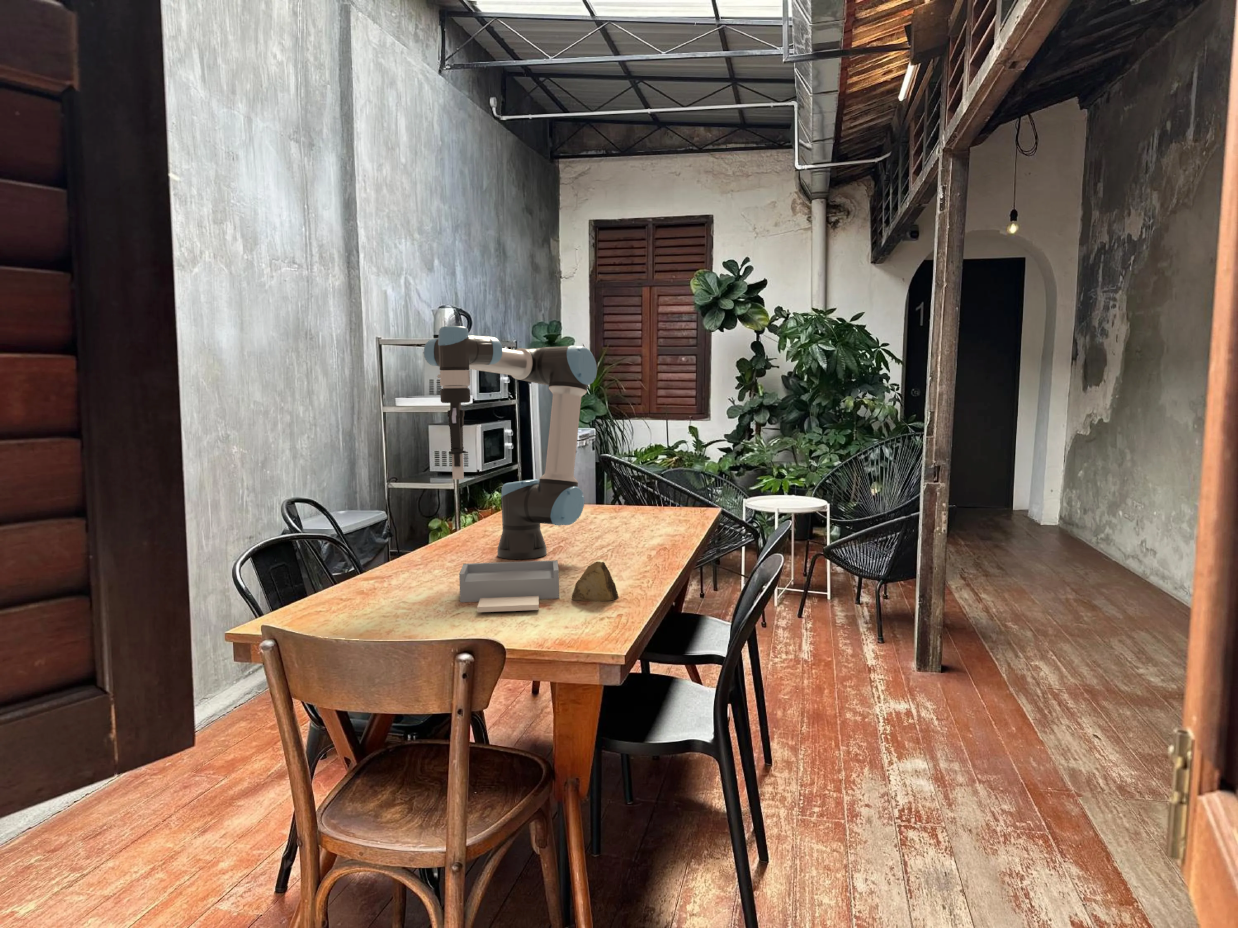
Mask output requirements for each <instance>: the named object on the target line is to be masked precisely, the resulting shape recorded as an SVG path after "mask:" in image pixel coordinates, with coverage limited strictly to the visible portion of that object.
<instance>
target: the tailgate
mask: <svg viewBox="0 0 1238 928" xmlns="http://www.w3.org/2000/svg"><path fill="white" fill-rule="evenodd" d="M476 609H477V610H476V613H491V612H492V613H494V612H516V611H520V612H521V611H522V612H523V611H537V610H538V611H539V610H540V599H539V596H525V597H500V598H480V601H479V602H478V604H477V607H476Z"/></svg>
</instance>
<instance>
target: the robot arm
mask: <svg viewBox="0 0 1238 928" xmlns="http://www.w3.org/2000/svg"><path fill="white" fill-rule="evenodd" d="M423 357H424V359H425V361H426V363H427V364H428V365H430V366H432V367H438V368H439V374H437V376H436V377H437V379H440V380H439V385H440V386H441V387H442V388H440V394H439V395H440V402H441V403H442V404H450V405H449V410H447V418H448V427H449V434H450V435H449V437H450V438H449V439H450V451H449V452H448V455H451V465H452V466H451V470H452V473H451V474H452V481H453V480H464V479H465V477H464V475H465V474H464V472H465V471H464V454H466V450H464V423H465V422H464V421H465V420H464V417H465V410H464V409H462V404H465V403H470V402H471V389H470V388H469V386H470V385H471V377H470V376H471V371H470V370H474V371H479V372H487V373H495V374H501V375H508V376H511V377H512V378H513V379H514V380H520V381H525V382H529V383H533V384H537V385H544V386H548V390H549V391H550V392H551V394H552V401H551V412H550V420H549V421H550V422H549V431H548V442H547V452H546V460H545V471H544V474H543V475H541V476H540V477H539V479H536V478H535V479H525V480H519V481H513V482H506V483H504V484H502V487H501V495H500V499H501V520H502V522H501V523H502V532H501V535H500V539H499V542H498V546H497V551H496V552H497V557H498V558H501V559H506V560H529V559H536V558H542V557H544V556H546V555H547V551H548V550H547V549H548V548H547V545H546V542H545V538H544V536H543V532H542V530H541V524H544V525H546V524H547V525H553V526H559V527H560V526H570V525H573V524H575V522H577V521H578V519H580V517H581V515H582V513H583V510H584V506H585V496H584V492H583V491H582V489H581V488H580V487H579V486H578V485H579V481H578V479H576V477H575V466H576V455H577V446H578V445H577V443H578V435H579V433H578V432H579V425H580V423H579V422H580V414H581V413H580V412H581V402H582V397H583V396H584V395H586V394H587V392H588V386H590V385H591V384H593V383H594V382H595V380H596V378H597V373H598V367H597V362H596V358H595V356H594V355H593V353H592V352H591V350H590V349H589V348H588V347H586V346H583V345H574V344H573V345H566V346H563V345H562V346H547V347H546V346H544V347H536V348H523V347H519V348H516V349H511V348H510V349H509V348H505V347H503V345H502V343H501V341H500V340H499V339H498V338H497V337H494V336H489V335H471V334H470V333H469V329H468V327H467V326H463V325H462V326H461V325H448V326H447V325H446V326H445V325H444V326H442V327H440V328H439V330H438V336H437V338H431V339H428V341H427V342H426V343H425V345H424V347H423Z"/></svg>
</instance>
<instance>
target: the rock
mask: <svg viewBox="0 0 1238 928" xmlns="http://www.w3.org/2000/svg"><path fill="white" fill-rule="evenodd" d="M613 579H614V578H613V577H612V574H611V572H610V569H608V567H607V565H606V563H605V562H604V561H595V562H594V563H591V564H590V565H588V566H587V567H586V569H585V570H584V571H583V573H582V575H581V576H580V578H578V580H577V581H576V583H575V586H574V588H573V592H572V595H571V600H573V601H583V602H584V601H585V602H586V601H587V602H588V601H589V602H611V601H613V600H617V599H619V598H620V597H619V595H618V590H617V586H616V583H615V582H614V580H613Z"/></svg>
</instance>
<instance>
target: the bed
mask: <svg viewBox="0 0 1238 928" xmlns="http://www.w3.org/2000/svg"><path fill="white" fill-rule="evenodd" d="M559 573H560V571H559V562H558V560H557V559H556V560H555V559H554V560H529V561H502V562H501V561H499V562H473V563H472V562H471V563H463V564H462V567H461V569H460V572H459V574H458V575H459V576H458V577H459V600H460V601H459V603H475V602H476V603H477V602H478V603H479V601H480V598H500V597H525V596H539V600H549V599H553V600H554V599H560V576H559V575H560V574H559Z"/></svg>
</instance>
